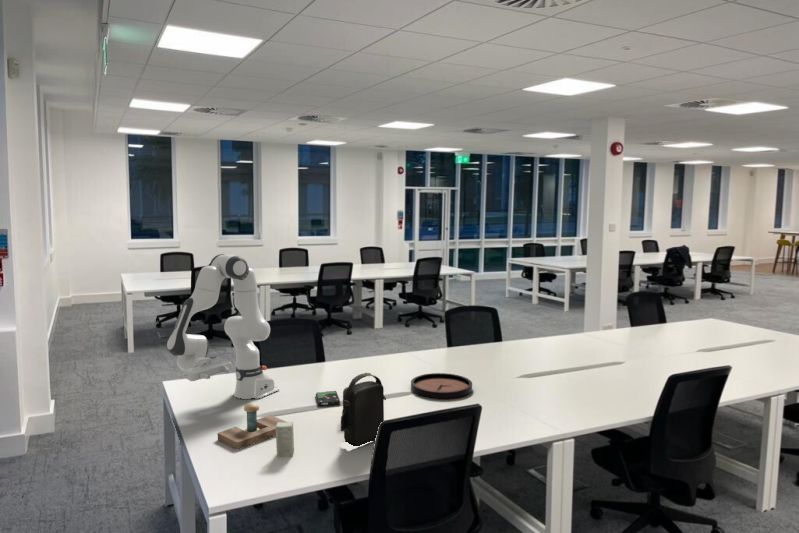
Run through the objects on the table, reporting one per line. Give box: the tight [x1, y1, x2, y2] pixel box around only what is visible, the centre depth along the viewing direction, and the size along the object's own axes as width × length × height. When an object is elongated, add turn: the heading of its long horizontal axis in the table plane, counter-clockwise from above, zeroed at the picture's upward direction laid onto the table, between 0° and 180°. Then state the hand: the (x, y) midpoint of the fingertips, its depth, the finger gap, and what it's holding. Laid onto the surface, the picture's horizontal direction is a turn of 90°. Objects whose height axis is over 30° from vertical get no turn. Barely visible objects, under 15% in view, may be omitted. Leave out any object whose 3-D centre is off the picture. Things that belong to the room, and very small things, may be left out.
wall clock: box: [410, 372, 473, 401], centre depth 301 cm, size 31×4×31 cm
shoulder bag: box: [340, 372, 387, 446], centre depth 236 cm, size 23×9×28 cm, turn 134°
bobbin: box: [243, 402, 260, 433], centre depth 243 cm, size 6×6×12 cm
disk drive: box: [315, 390, 341, 408], centre depth 283 cm, size 10×3×15 cm
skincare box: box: [275, 421, 295, 457], centre depth 224 cm, size 6×4×12 cm
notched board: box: [217, 414, 287, 450], centre depth 242 cm, size 26×14×3 cm, turn 139°
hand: (218, 374), depth 255 cm, fingers open, 8 cm apart
